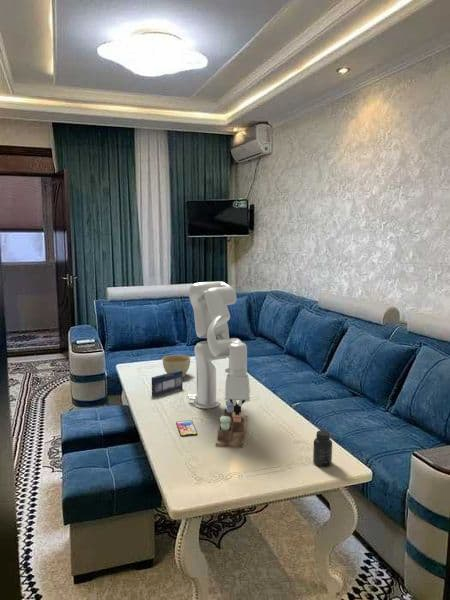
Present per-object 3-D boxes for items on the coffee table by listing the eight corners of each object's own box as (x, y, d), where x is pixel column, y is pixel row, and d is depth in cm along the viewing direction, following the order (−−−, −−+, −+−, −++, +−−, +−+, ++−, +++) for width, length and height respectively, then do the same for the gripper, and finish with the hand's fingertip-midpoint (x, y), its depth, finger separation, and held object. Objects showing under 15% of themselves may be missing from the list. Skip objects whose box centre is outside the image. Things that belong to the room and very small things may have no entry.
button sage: (219, 434, 194) (219, 419, 193) (220, 430, 198) (220, 415, 197) (229, 434, 194) (229, 420, 193) (230, 430, 198) (231, 416, 197)
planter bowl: (196, 375, 280) (196, 357, 278) (179, 382, 267) (178, 363, 265) (174, 370, 288) (174, 353, 287) (156, 377, 275) (156, 359, 273)
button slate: (224, 416, 212) (225, 403, 211) (226, 413, 216) (226, 399, 215) (234, 417, 211) (234, 403, 210) (235, 413, 215) (235, 400, 214)
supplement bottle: (310, 459, 181) (311, 429, 179) (328, 458, 182) (329, 428, 180) (315, 468, 174) (316, 437, 173) (334, 467, 175) (335, 436, 173)
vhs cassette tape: (154, 397, 245) (153, 378, 243) (151, 395, 247) (150, 377, 245) (183, 389, 257) (183, 371, 255) (180, 387, 259) (179, 369, 257)
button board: (215, 445, 191) (215, 433, 191) (224, 417, 220) (224, 406, 219) (241, 447, 190) (241, 435, 189) (247, 418, 219) (247, 407, 218)
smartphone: (191, 420, 215) (198, 433, 201) (192, 422, 216) (198, 435, 201) (175, 421, 214) (180, 435, 199) (175, 423, 214) (180, 437, 199)
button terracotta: (231, 429, 203) (231, 415, 202) (232, 425, 207) (232, 411, 206) (241, 429, 202) (241, 415, 201) (242, 425, 206) (242, 412, 205)
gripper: (218, 374, 198) (218, 416, 201) (255, 375, 196) (254, 418, 199) (221, 368, 205) (221, 409, 208) (256, 370, 203) (255, 411, 206)
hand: (237, 413), depth 203 cm, fingers closed
